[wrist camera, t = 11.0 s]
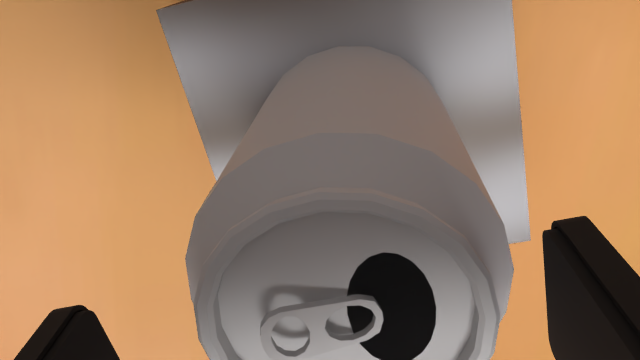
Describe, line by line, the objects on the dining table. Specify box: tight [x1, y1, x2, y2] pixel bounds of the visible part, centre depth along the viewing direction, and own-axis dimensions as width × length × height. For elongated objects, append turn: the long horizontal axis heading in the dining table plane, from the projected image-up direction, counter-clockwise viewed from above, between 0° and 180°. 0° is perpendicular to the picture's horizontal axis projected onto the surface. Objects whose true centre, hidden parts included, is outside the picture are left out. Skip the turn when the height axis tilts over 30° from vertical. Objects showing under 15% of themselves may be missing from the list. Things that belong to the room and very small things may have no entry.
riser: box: [156, 0, 531, 244], centre depth 23 cm, size 13×13×5 cm
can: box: [185, 46, 514, 360], centre depth 16 cm, size 8×8×12 cm
